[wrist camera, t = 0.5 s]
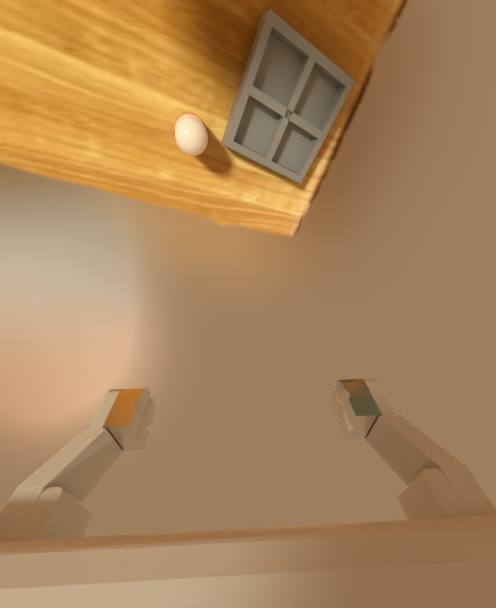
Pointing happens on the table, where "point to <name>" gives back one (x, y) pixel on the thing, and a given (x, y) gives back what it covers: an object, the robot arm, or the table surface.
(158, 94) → the table surface
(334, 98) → the grey compartment tray
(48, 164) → the table surface
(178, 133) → the cream rounded piece
